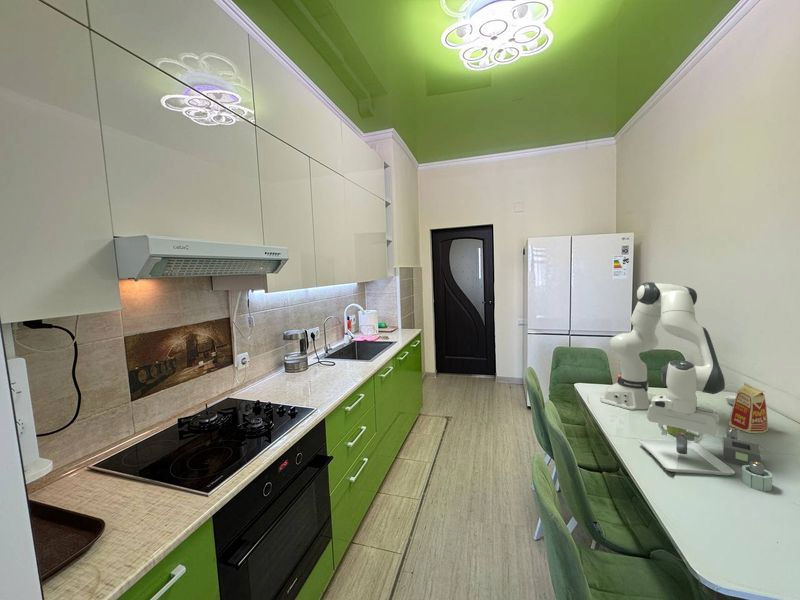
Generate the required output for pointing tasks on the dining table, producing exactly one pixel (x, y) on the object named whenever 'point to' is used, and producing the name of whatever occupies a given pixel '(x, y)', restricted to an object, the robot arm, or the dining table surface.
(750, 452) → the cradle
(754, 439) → the dining table surface
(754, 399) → the milk carton
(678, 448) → the cell
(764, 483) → the cup
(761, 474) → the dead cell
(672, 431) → the plant pot
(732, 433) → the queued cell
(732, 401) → the spoon rest
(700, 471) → the salad plate
